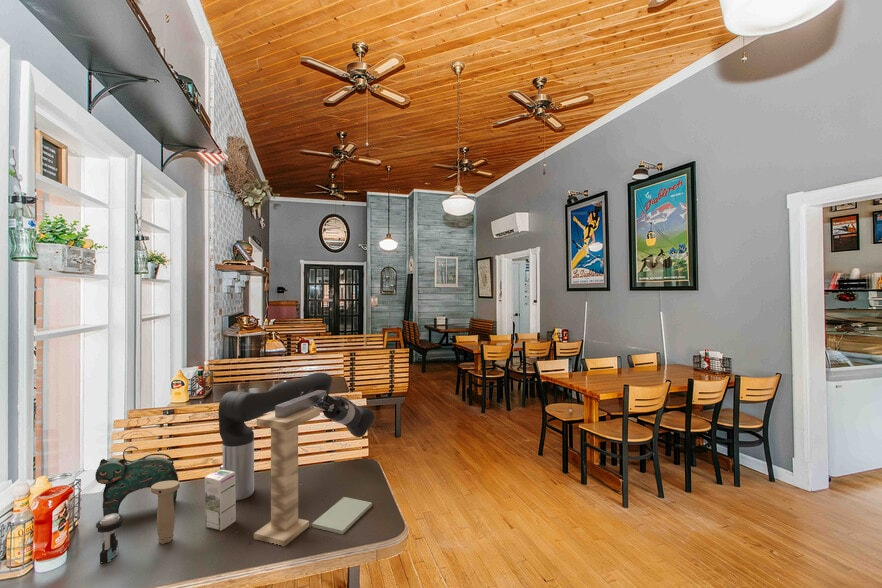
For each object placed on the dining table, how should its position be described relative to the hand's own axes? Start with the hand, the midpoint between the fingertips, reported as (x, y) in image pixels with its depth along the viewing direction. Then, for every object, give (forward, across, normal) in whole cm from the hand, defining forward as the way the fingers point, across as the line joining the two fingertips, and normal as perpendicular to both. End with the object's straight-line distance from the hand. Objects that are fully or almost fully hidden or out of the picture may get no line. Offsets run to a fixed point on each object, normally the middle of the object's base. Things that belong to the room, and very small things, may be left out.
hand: (312, 396), depth 127 cm
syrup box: (-3, -19, +38) cm, 43 cm away
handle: (+6, -26, +44) cm, 51 cm away
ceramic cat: (-1, -48, +40) cm, 62 cm away
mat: (-17, +11, +30) cm, 36 cm away
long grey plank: (+3, 0, +4) cm, 5 cm away
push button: (+14, -33, +48) cm, 60 cm away
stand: (-7, 0, +35) cm, 36 cm away
